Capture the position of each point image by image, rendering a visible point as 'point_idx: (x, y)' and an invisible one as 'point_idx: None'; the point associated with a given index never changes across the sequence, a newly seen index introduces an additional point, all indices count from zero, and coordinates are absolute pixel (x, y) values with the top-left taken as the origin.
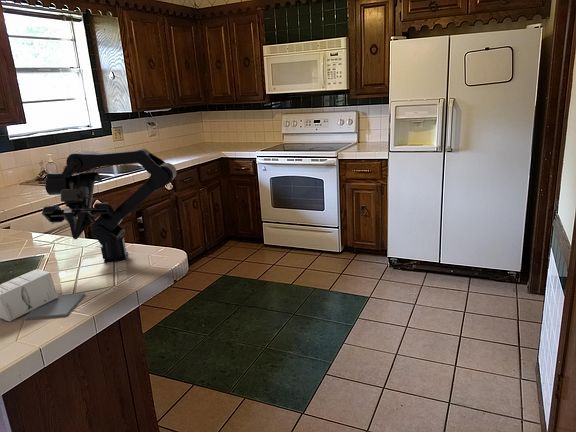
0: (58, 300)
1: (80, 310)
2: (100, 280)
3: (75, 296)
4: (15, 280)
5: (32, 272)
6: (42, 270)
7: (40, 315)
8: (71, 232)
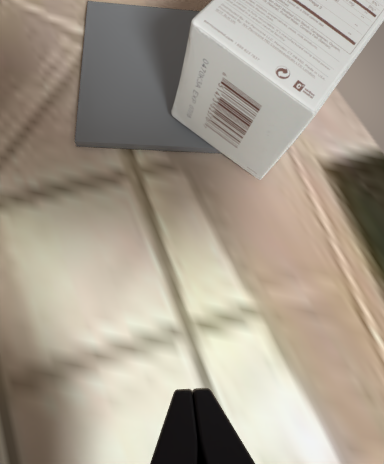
0: (166, 104)
1: (54, 34)
2: (53, 293)
3: (107, 120)
4: (339, 7)
5: (307, 67)
6: (261, 73)
7: (178, 13)
8: (243, 445)
